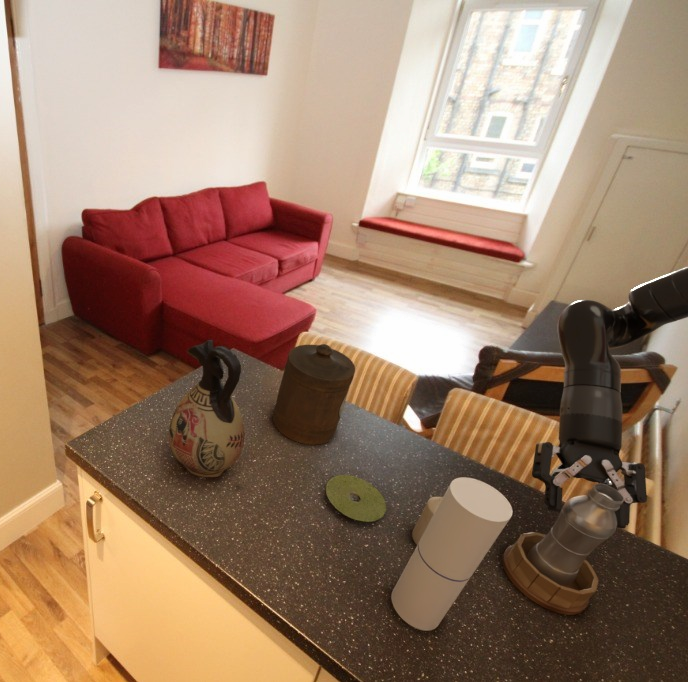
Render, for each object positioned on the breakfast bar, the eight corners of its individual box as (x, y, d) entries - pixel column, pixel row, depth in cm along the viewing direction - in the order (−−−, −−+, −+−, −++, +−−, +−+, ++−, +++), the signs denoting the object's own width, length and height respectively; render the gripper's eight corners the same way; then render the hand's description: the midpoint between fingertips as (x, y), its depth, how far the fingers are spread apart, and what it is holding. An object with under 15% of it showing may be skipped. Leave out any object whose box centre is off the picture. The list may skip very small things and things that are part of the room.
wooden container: (347, 439, 104) (375, 359, 93) (293, 450, 99) (315, 368, 88) (311, 400, 116) (332, 326, 105) (261, 409, 111) (277, 332, 100)
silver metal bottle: (518, 574, 76) (579, 492, 66) (524, 549, 80) (583, 469, 70) (564, 601, 72) (637, 519, 62) (568, 573, 76) (637, 492, 66)
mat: (358, 476, 94) (360, 470, 93) (396, 520, 85) (399, 513, 84) (312, 487, 90) (314, 480, 89) (347, 534, 81) (349, 527, 80)
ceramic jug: (151, 454, 95) (158, 332, 80) (206, 428, 104) (222, 313, 89) (202, 509, 84) (221, 378, 69) (259, 475, 92) (287, 352, 77)
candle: (407, 525, 84) (426, 488, 79) (437, 530, 83) (458, 493, 78) (417, 551, 79) (437, 514, 74) (449, 557, 79) (472, 519, 74)
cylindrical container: (392, 619, 68) (454, 510, 56) (390, 578, 74) (446, 470, 62) (443, 638, 67) (519, 529, 54) (436, 594, 72) (504, 487, 60)
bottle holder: (567, 560, 80) (582, 542, 77) (600, 626, 70) (618, 608, 67) (493, 539, 83) (504, 521, 80) (514, 599, 73) (528, 581, 70)
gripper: (555, 403, 71) (548, 507, 68) (661, 426, 68) (661, 536, 64) (527, 410, 79) (520, 504, 75) (623, 431, 75) (620, 530, 71)
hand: (585, 519), depth 70 cm, fingers open, 8 cm apart
